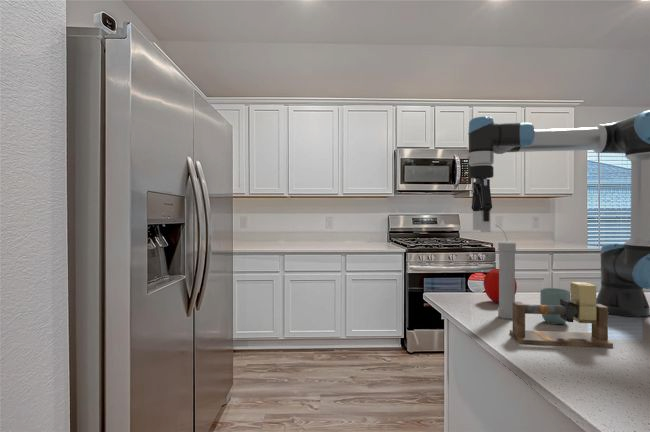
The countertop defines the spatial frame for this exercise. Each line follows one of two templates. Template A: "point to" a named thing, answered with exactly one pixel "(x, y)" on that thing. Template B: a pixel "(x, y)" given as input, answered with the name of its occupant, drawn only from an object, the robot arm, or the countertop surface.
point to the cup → (553, 302)
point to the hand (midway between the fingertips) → (481, 231)
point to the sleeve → (584, 301)
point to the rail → (559, 338)
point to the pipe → (506, 278)
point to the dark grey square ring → (569, 310)
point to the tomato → (493, 285)
